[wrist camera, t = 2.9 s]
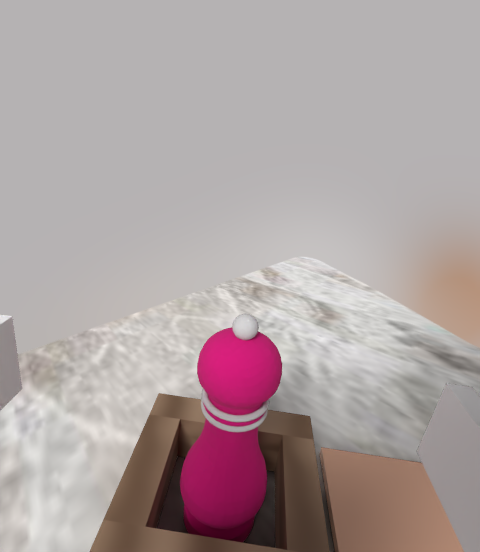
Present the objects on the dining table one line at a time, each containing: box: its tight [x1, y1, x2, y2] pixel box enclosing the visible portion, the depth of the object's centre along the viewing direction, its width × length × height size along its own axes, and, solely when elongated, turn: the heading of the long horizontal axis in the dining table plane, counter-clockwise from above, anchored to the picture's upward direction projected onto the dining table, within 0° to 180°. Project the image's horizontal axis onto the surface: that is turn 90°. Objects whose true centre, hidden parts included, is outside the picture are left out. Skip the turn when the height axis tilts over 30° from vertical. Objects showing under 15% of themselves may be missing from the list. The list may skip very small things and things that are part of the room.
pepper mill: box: [180, 314, 282, 543], centre depth 27 cm, size 7×7×20 cm
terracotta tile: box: [320, 447, 464, 552], centre depth 30 cm, size 16×16×1 cm
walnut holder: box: [90, 393, 330, 552], centre depth 29 cm, size 16×16×5 cm
